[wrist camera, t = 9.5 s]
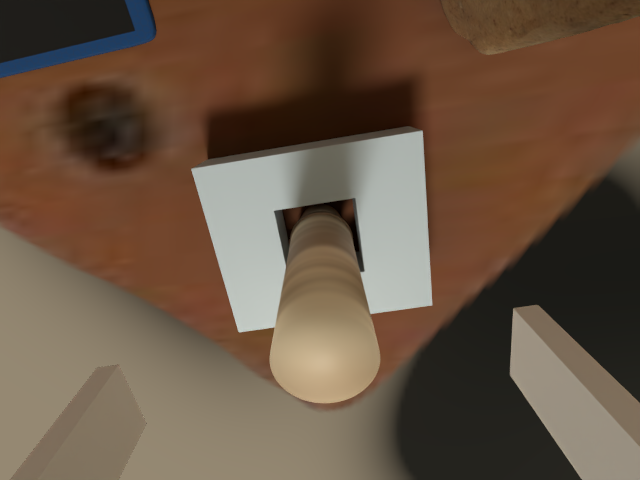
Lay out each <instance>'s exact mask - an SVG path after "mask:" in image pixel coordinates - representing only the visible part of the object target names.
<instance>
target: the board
mask: <svg viewBox="0 0 640 480" xmlns="http://www.w3.org/2000/svg"><path fill="white" fill-rule="evenodd" d="M191 170H192V173H193V176H194V180H195V183H196V187H197V190H198V194H199V197H200V201H201V204H202V207H203V211H204V214H205V218H206V221H207V225H208V228H209V232H210V235H211V238H212V242H213V245H214V249H215V252H216V256H217V259H218V263H219V266H220V269H221V273H222V276H223V280H224V283H225V287H226V290H227V294H228V297H229V300H230V304H231V307H232V311H233V314H234V318H235V321H236V325H237V328H238V331H239V332H244V331H252V330H259V329H266V328H273V327H275V324H276V318H277V313H278V307H279V302H280V296H281V291H282V286H283V280H284V275H285V269H286V264H287V258H288V253H289V247H290V246H289V241H288V236H287V231H286V226H285V222H284V217H283V212H282V209H288V208H295V207H301V206H307V205H314V204H320V203H327V202H333V201H339V200H346V199H352V200H353V207H354V215H355V223H356V230H357V238H358V245H359V251H357V252H355V253H356V257H357V261H358V265H359V269H360V273H361V277H362V282H363V286H364V290H365V294H366V298H367V302H368V306H369V310H370V314H373V313H380V312H387V311H394V310H402V309H409V308H416V307H423V306H430V305H432V292H431V274H430V256H429V238H428V219H427V201H426V183H425V164H424V146H423V131H422V130H419V129H416V128H413V127H410V126H406V127H400V128H394V129H388V130H382V131H376V132H370V133H364V134H358V135H352V136H346V137H340V138H334V139H328V140H322V141H316V142H310V143H304V144H298V145H292V146H286V147H280V148H274V149H268V150H262V151H256V152H250V153H244V154H238V155H232V156H226V157H220V158H214V159H208V160H206V161H204V162H202V163H201V164H199V165H197V166H195V167H194V168H192V169H191Z"/></svg>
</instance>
